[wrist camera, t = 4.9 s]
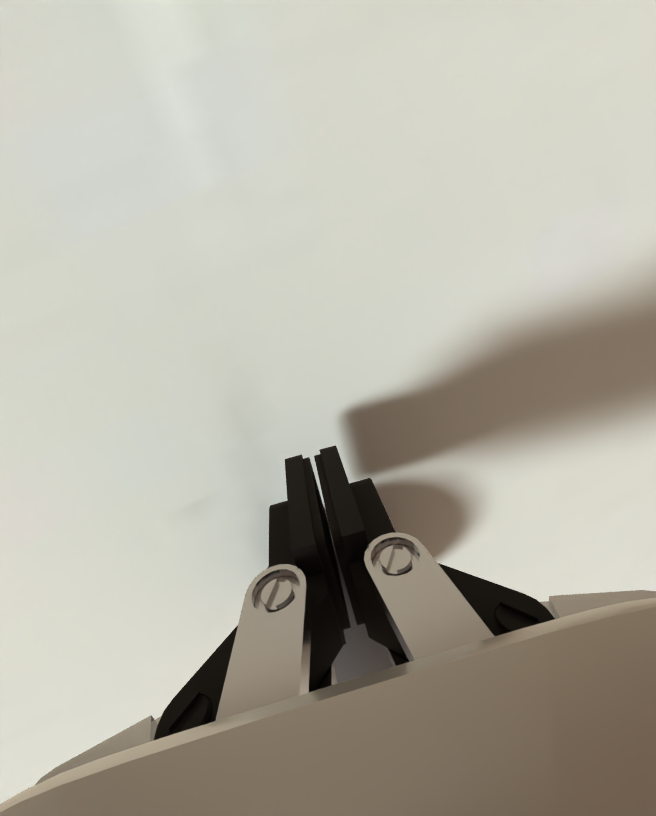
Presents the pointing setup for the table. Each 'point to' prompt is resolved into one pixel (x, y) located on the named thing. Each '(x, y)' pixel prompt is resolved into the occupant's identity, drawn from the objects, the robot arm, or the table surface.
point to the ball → (358, 647)
